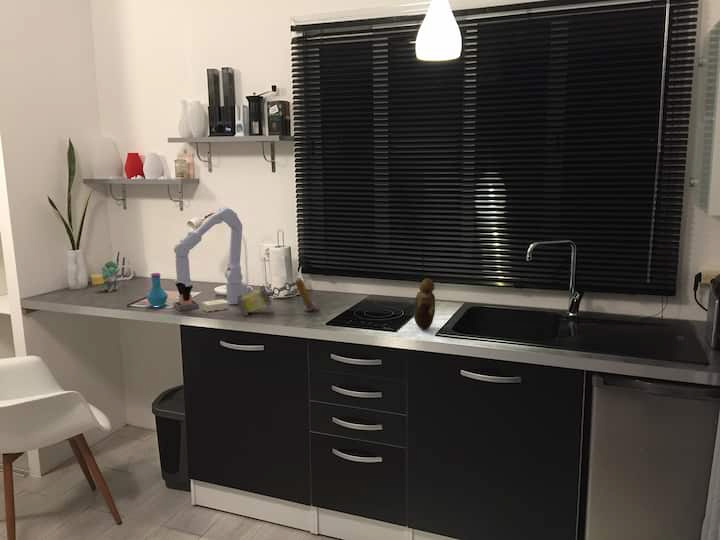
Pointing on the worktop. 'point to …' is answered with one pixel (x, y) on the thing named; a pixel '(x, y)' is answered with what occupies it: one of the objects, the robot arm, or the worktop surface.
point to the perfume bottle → (156, 292)
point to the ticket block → (214, 305)
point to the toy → (110, 276)
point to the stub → (185, 301)
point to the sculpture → (425, 304)
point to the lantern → (262, 298)
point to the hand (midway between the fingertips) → (184, 299)
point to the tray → (186, 306)
